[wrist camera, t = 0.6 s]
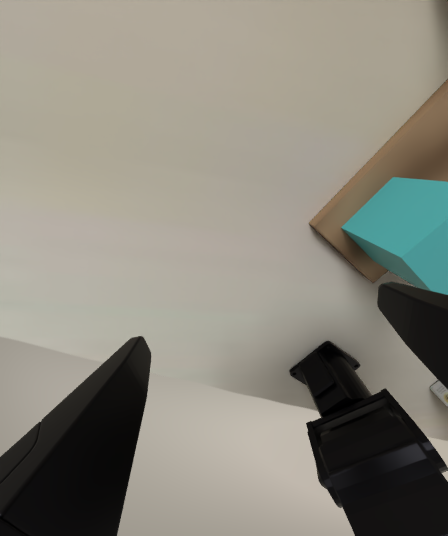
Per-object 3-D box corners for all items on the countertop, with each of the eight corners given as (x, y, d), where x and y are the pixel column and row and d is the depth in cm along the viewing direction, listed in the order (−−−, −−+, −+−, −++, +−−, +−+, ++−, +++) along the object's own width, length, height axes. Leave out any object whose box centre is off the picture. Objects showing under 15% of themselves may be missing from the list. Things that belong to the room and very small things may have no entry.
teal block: (424, 218, 19) (521, 243, 13) (374, 261, 21) (441, 301, 15) (393, 176, 18) (487, 185, 12) (340, 227, 19) (401, 257, 13)
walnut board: (581, 92, 17) (606, 88, 16) (365, 277, 23) (373, 283, 22) (545, -22, 14) (573, -37, 13) (308, 223, 20) (314, 226, 19)
